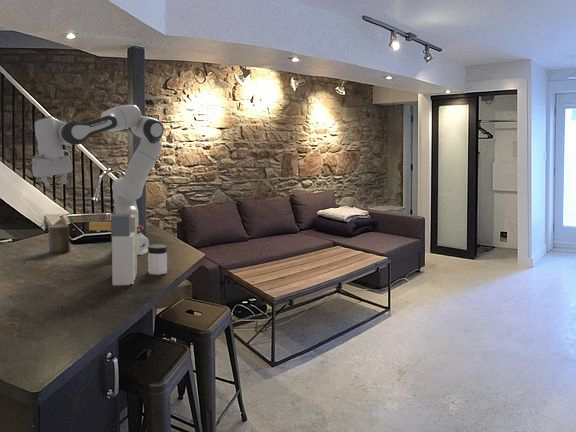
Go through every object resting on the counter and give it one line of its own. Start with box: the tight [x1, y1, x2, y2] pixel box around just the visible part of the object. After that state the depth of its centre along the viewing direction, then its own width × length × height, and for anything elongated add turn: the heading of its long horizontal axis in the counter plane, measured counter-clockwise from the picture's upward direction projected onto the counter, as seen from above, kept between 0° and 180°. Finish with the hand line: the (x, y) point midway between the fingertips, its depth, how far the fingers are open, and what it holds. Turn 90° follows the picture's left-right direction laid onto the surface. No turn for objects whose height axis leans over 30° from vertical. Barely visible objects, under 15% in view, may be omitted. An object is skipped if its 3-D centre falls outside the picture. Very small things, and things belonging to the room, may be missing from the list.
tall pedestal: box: [131, 214, 138, 278], centre depth 207 cm, size 8×9×26 cm
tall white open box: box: [111, 232, 136, 286], centre depth 197 cm, size 8×9×20 cm
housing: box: [88, 213, 131, 237], centre depth 194 cm, size 16×7×8 cm, turn 103°
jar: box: [147, 244, 168, 276], centre depth 214 cm, size 9×8×12 cm
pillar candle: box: [47, 223, 71, 255], centre depth 245 cm, size 10×10×15 cm
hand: (55, 185), depth 214 cm, fingers open, 8 cm apart
